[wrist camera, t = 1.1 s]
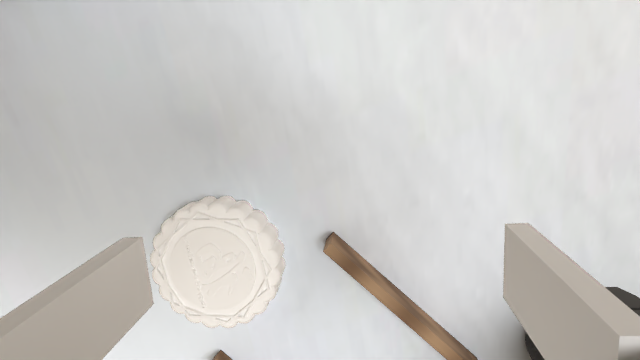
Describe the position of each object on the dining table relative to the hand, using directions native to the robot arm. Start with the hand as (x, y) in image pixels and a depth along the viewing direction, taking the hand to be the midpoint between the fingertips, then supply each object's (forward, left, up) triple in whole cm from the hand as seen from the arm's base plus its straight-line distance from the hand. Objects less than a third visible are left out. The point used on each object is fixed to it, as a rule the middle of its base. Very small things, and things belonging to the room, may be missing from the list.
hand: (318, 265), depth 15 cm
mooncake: (-3, -15, -23) cm, 27 cm away
